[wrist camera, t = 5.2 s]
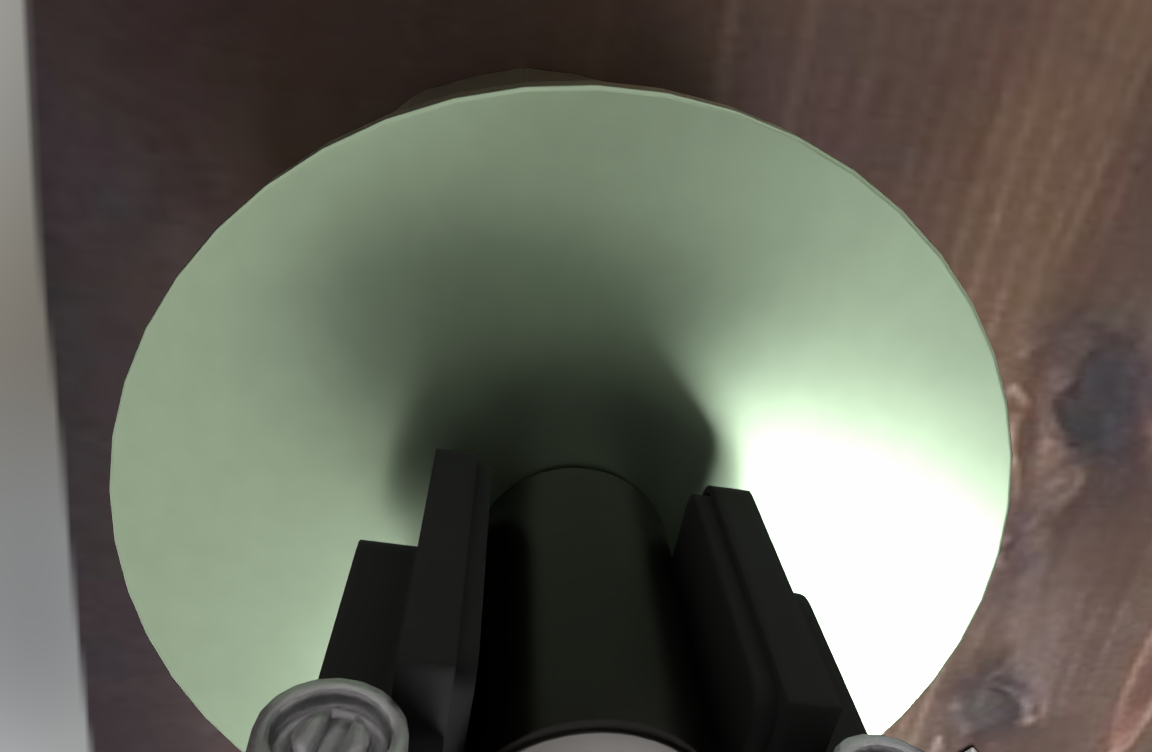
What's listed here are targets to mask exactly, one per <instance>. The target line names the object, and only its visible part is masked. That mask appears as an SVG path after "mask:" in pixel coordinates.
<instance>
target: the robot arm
mask: <svg viewBox="0 0 1152 752" xmlns="http://www.w3.org/2000/svg"><path fill="white" fill-rule="evenodd" d="M476 463H477V454H475V453H467V452H460V451H453V450H445V449H438V448H436V452H435V457H434V462H433V467H432V473H431V478H430V483H429V489H428V494H427V499H426V505H425V510H424V515H423V520H422V526H421V531H420V536H419V542H418V546H409V545H401V544H393V543H385V542H377V541H369V540H360V541H359V542H358V545H357V548H356V551H355V555H354V558H353V561H352V565H351V568H350V572H349V575H348V579H347V582H346V585H345V589H344V592H343V596H342V599H341V602H340V606H339V609H338V613H337V616H336V620H335V623H334V626H333V630H332V633H331V637H330V640H329V643H328V647H327V650H326V654H325V657H324V660H323V664H322V667H321V671H320V674H319V678H318V679H316V680H312V681H309V682H305V683H302V684H298V685H295V686H293V687H291V688H289V689H288V690H286V691H284V692H282V693H280V694H279V695H277V696H275V697H274V698H273V699H272V700H271V701H270V702H269V703H268V704H267V705H266V706H265V707H264V708H263V709H262V710H261V711H260V713H259V715H258V717H257V719H256V721H255V723H254V725H253V727H252V730H251V733H250V737H249V741H248V745H247V748H246V752H464V747H465V741H466V736H467V730H468V724H469V719H470V713H471V708H472V702H473V696H474V690H475V684H476V677H477V669H478V660H479V650H480V636H481V622H482V607H483V593H484V578H485V564H486V549H487V535H488V521H489V506H490V492H491V477H492V467H489V466H482V465H476ZM672 560H673V564H674V568H675V572H676V576H677V580H678V584H679V588H680V592H681V596H682V601H683V605H684V609H685V613H686V617H687V621H688V625H689V629H690V633H691V637H692V641H693V645H694V650H695V654H696V658H697V662H698V666H699V670H700V674H701V678H702V682H703V686H704V690H705V694H706V698H707V703H708V707H709V711H710V715H711V719H712V723H713V727H714V731H715V735H716V739H717V743H718V747H719V752H924V751H922V750H921V749H918V748H916V747H914V746H912V745H910V744H908V743H906V742H904V741H902V740H898V739H895V738H891V737H887V736H883V735H875V734H868V733H867V731H866V729H865V727H864V724H863V722H862V720H861V718H860V715H859V713H858V711H857V708H856V706H855V704H854V702H853V699H852V697H851V695H850V693H849V690H848V688H847V686H846V684H845V681H844V679H843V677H842V675H841V672H840V670H839V668H838V666H837V663H836V661H835V659H834V656H833V654H832V652H831V650H830V647H829V645H828V643H827V641H826V638H825V636H824V634H823V632H822V629H821V627H820V625H819V623H818V620H817V618H816V616H815V614H814V611H813V609H812V607H811V604H810V603H809V601H808V600H807V598H806V597H805V596H804V595H802V594H800V593H794V592H793V590H792V588H791V585H790V583H789V581H788V578H787V576H786V573H785V571H784V569H783V566H782V564H781V562H780V559H779V557H778V555H777V552H776V550H775V548H774V545H773V543H772V540H771V538H770V536H769V533H768V531H767V529H766V526H765V524H764V522H763V519H762V517H761V514H760V512H759V510H758V507H757V505H756V503H755V500H754V498H753V496H752V494H751V492H750V491H747V490H740V489H733V488H725V487H718V486H711V485H708V486H707V487H706V488H705V490H704V492H703V494H702V495H698V494H692V495H690V497H689V499H688V502H687V505H686V509H685V512H684V516H683V520H682V524H681V527H680V531H679V535H678V538H677V542H676V546H675V550H674V553H673V557H672Z"/></svg>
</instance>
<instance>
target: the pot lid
mask: <svg viewBox="0 0 1152 752" xmlns="http://www.w3.org/2000/svg"><path fill="white" fill-rule="evenodd" d="M436 448H438V449H445V450H453V451H460V452H467V453H475V454H477V463H476V465H482V466H489V467H492V477H491V492H490V506H489V521H488V535H487V549H486V564H485V578H484V593H483V607H482V622H481V636H480V650H479V660H478V669H477V677H476V684H475V690H474V696H473V702H472V708H471V713H470V719H469V724H468V730H467V736H466V741H465V747H464V752H719V747H718V743H717V739H716V735H715V731H714V727H713V723H712V719H711V715H710V711H709V707H708V703H707V698H706V694H705V690H704V686H703V682H702V678H701V674H700V670H699V666H698V662H697V658H696V654H695V650H694V645H693V641H692V637H691V633H690V629H689V625H688V621H687V617H686V613H685V609H684V605H683V601H682V596H681V592H680V588H679V584H678V580H677V576H676V572H675V568H674V564H673V560H672V557H673V553H674V550H675V546H676V542H677V538H678V535H679V531H680V527H681V524H682V520H683V516H684V512H685V509H686V505H687V502H688V499H689V497H690V495H692V494H698V495H702V494H703V492H704V490H705V488H706V487H707V486H708V485H711V486H718V487H725V488H733V489H740V490H747V491H750V492H751V494H752V496H753V498H754V500H755V503H756V505H757V507H758V510H759V512H760V514H761V517H762V519H763V522H764V524H765V526H766V529H767V531H768V533H769V536H770V538H771V540H772V543H773V545H774V548H775V550H776V552H777V555H778V557H779V559H780V562H781V564H782V566H783V569H784V571H785V573H786V576H787V578H788V581H789V583H790V585H791V588H792V590H793V592H794V593H800V594H802V595H804V596H805V597H806V598H807V600H808V601H809V603H810V604H811V607H812V609H813V611H814V614H815V616H816V618H817V620H818V623H819V625H820V627H821V629H822V632H823V634H824V636H825V638H826V641H827V643H828V645H829V647H830V650H831V652H832V654H833V656H834V659H835V661H836V663H837V666H838V668H839V670H840V672H841V675H842V677H843V679H844V681H845V684H846V686H847V688H848V690H849V693H850V695H851V697H852V699H853V702H854V704H855V706H856V708H857V711H858V713H859V715H860V718H861V720H862V722H863V724H864V727H865V729H866V731H867V733H868V734H875V735H882V734H884V733H885V732H886V731H887V730H888V729H889V728H890V727H891V726H892V725H894V724H895V723H896V722H897V721H898V720H899V719H900V718H901V717H902V716H903V715H904V714H905V713H906V712H907V711H908V710H909V708H910V707H911V706H912V705H913V704H914V703H915V702H916V701H917V699H918V698H919V697H920V696H921V695H922V694H923V693H924V691H925V690H926V689H927V688H928V687H929V686H930V685H931V684H932V682H933V681H934V680H935V678H936V677H937V676H938V674H939V673H940V671H941V670H942V668H943V667H944V666H945V664H946V663H947V661H948V660H949V658H950V657H951V655H952V654H953V653H954V651H955V650H956V648H957V647H958V645H959V644H960V642H961V641H962V639H963V637H964V635H965V633H966V631H967V629H968V627H969V625H970V623H971V622H972V620H973V618H974V616H975V614H976V612H977V610H978V608H979V606H980V604H981V602H982V600H983V598H984V595H985V593H986V590H987V587H988V584H989V582H990V579H991V576H992V573H993V570H994V568H995V565H996V562H997V559H998V557H999V554H1000V549H1001V545H1002V540H1003V535H1004V530H1005V525H1006V521H1007V516H1008V511H1009V506H1010V490H1011V473H1012V445H1011V435H1010V424H1009V414H1008V404H1007V399H1006V396H1005V392H1004V388H1003V384H1002V380H1001V376H1000V372H999V368H998V365H997V361H996V357H995V353H994V350H993V348H992V346H991V343H990V341H989V339H988V337H987V334H986V332H985V330H984V327H983V325H982V323H981V320H980V318H979V316H978V314H977V311H976V309H975V307H974V304H973V302H972V300H971V299H970V297H969V296H968V294H967V293H966V291H965V290H964V288H963V286H962V285H961V283H960V282H959V280H958V279H957V277H956V276H955V274H954V272H953V271H952V269H951V268H950V266H949V265H948V263H947V262H946V260H945V258H944V257H943V255H942V254H941V253H940V252H939V250H938V249H937V248H936V247H935V246H934V245H933V244H932V243H931V241H930V240H929V239H928V238H927V237H926V236H925V235H924V234H923V232H922V231H921V230H920V229H919V228H918V227H917V226H916V225H915V223H914V222H913V221H912V220H911V219H910V218H909V217H908V216H907V214H906V213H905V212H904V211H903V210H902V209H901V208H900V207H899V206H897V205H896V204H895V203H894V202H892V201H891V200H890V199H889V198H888V197H886V196H885V195H884V194H883V193H882V192H880V191H879V190H878V189H877V188H875V187H874V186H873V185H872V184H871V183H869V182H868V181H867V180H866V179H865V178H863V177H862V176H861V175H860V174H859V173H857V172H856V171H855V170H854V169H852V168H850V167H849V166H847V165H846V164H844V163H842V162H841V161H839V160H837V159H836V158H834V157H832V156H831V155H829V154H827V153H826V152H824V151H822V150H821V149H819V148H817V147H816V146H814V145H812V144H811V143H809V142H807V141H806V140H804V139H802V138H801V137H799V136H797V135H796V134H794V133H792V132H791V131H789V130H786V129H784V128H782V127H779V126H777V125H774V124H772V123H770V122H767V121H765V120H763V119H760V118H758V117H755V116H753V115H751V114H748V113H746V112H743V111H741V110H739V109H736V108H734V107H731V106H729V105H725V104H721V103H718V102H714V101H710V100H706V99H702V98H698V97H694V96H691V95H687V94H683V93H679V92H675V91H671V90H668V89H664V88H655V87H647V86H638V85H630V84H621V83H612V82H604V81H548V82H522V83H516V84H510V85H503V86H497V87H491V88H485V89H478V90H472V91H466V92H459V93H455V94H451V95H448V96H445V97H442V98H438V99H435V100H432V101H429V102H425V103H422V104H419V105H415V106H412V107H409V108H406V109H402V110H399V111H396V112H392V113H390V114H387V115H385V116H383V117H381V118H379V119H377V120H375V121H372V122H370V123H368V124H366V125H364V126H362V127H359V128H357V129H355V130H353V131H351V132H349V133H347V134H344V135H342V136H340V137H338V138H336V139H334V140H332V141H329V142H328V143H326V144H325V145H323V146H322V147H320V148H319V149H317V150H315V151H314V152H312V153H311V154H309V155H308V156H306V157H305V158H303V159H302V160H300V161H299V162H297V163H296V164H294V165H292V166H291V167H289V168H288V169H286V170H285V171H283V172H282V173H280V174H279V175H277V176H276V177H274V178H273V179H272V180H270V181H269V182H268V183H267V184H266V185H265V186H263V187H262V188H261V189H260V190H259V191H258V192H257V193H256V194H254V195H253V196H252V197H251V198H250V199H249V200H248V201H246V202H245V203H244V204H243V205H242V206H241V207H240V208H239V209H237V210H236V211H235V212H234V213H233V214H232V215H231V216H230V217H228V218H227V219H226V220H225V221H224V222H223V223H222V224H221V225H219V226H218V227H217V228H216V229H215V230H214V232H213V233H212V234H211V235H210V236H209V238H208V239H207V240H206V241H205V242H204V244H203V245H202V246H201V247H200V248H199V250H198V251H197V252H196V253H195V254H194V256H193V257H192V258H191V259H190V260H189V262H188V263H187V264H186V265H185V266H184V268H183V269H182V270H181V271H180V272H179V274H178V275H177V276H176V278H175V279H174V281H173V283H172V284H171V286H170V288H169V289H168V291H167V293H166V295H165V296H164V298H163V300H162V301H161V303H160V305H159V306H158V308H157V310H156V311H155V313H154V315H153V316H152V318H151V320H150V321H149V323H148V325H147V326H146V328H145V331H144V333H143V336H142V338H141V341H140V343H139V346H138V348H137V351H136V353H135V356H134V358H133V361H132V363H131V366H130V368H129V371H128V373H127V376H126V378H125V381H124V385H123V390H122V394H121V399H120V403H119V408H118V412H117V417H116V421H115V426H114V430H113V436H112V453H111V471H110V499H111V508H112V518H113V528H114V538H115V544H116V547H117V551H118V555H119V559H120V563H121V566H122V570H123V574H124V578H125V582H126V585H127V589H128V592H129V594H130V597H131V599H132V601H133V604H134V606H135V608H136V610H137V613H138V615H139V617H140V620H141V622H142V624H143V627H144V629H145V631H146V634H147V636H148V638H149V639H150V641H151V643H152V644H153V646H154V647H155V649H156V651H157V652H158V654H159V656H160V657H161V659H162V661H163V662H164V664H165V666H166V667H167V669H168V670H169V672H170V674H171V675H172V677H173V678H174V680H175V681H176V682H177V683H178V685H179V686H180V687H181V688H182V690H183V691H184V692H185V693H186V694H187V696H188V697H189V698H190V699H191V701H192V702H193V703H194V704H195V706H196V707H197V708H198V709H199V710H200V712H201V713H202V714H203V715H204V716H205V717H206V718H207V719H208V720H209V721H210V722H211V723H212V724H213V725H214V726H215V727H216V728H217V729H218V730H219V731H220V732H221V733H222V734H223V735H224V736H225V737H227V738H228V739H229V740H230V741H231V742H232V743H233V744H234V745H235V746H236V747H237V748H238V749H239V750H240V751H242V752H246V748H247V745H248V741H249V737H250V733H251V730H252V727H253V725H254V723H255V721H256V719H257V717H258V715H259V713H260V711H261V710H262V709H263V708H264V707H265V706H266V705H267V704H268V703H269V702H270V701H271V700H272V699H273V698H274V697H275V696H277V695H279V694H280V693H282V692H284V691H286V690H288V689H289V688H291V687H293V686H295V685H298V684H302V683H305V682H309V681H312V680H316V679H318V678H319V674H320V671H321V667H322V664H323V660H324V657H325V654H326V650H327V647H328V643H329V640H330V637H331V633H332V630H333V626H334V623H335V620H336V616H337V613H338V609H339V606H340V602H341V599H342V596H343V592H344V589H345V585H346V582H347V579H348V575H349V572H350V568H351V565H352V561H353V558H354V555H355V551H356V548H357V545H358V542H359V541H360V540H369V541H377V542H385V543H393V544H401V545H409V546H418V542H419V536H420V531H421V526H422V520H423V515H424V510H425V505H426V499H427V494H428V489H429V483H430V478H431V473H432V467H433V462H434V457H435V452H436Z"/></svg>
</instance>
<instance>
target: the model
mask: <svg viewBox="0 0 1152 752" xmlns="http://www.w3.org/2000/svg"><path fill="white" fill-rule="evenodd" d="M965 752H977V751H976V750H975V749H974V747H972V748H970V749H969V750H967V751H965Z"/></svg>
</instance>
